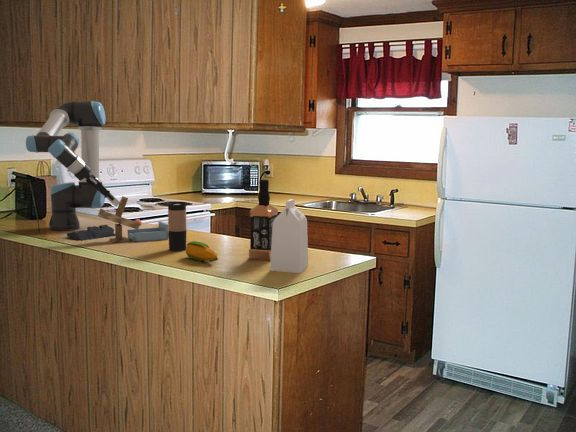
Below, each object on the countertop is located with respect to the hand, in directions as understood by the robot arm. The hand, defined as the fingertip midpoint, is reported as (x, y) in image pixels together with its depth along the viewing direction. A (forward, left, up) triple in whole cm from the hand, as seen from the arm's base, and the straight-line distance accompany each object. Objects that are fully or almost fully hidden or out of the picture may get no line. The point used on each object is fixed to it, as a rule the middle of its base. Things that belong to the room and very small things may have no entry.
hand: (118, 204), depth 285 cm
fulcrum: (+4, +1, -16) cm, 17 cm away
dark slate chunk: (-8, -16, -17) cm, 24 cm away
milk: (+53, +81, -17) cm, 98 cm away
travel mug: (+22, +32, -17) cm, 42 cm away
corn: (+42, +46, -17) cm, 64 cm away
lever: (+4, +1, -7) cm, 8 cm away
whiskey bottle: (+35, +70, -17) cm, 80 cm away
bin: (-3, +13, -16) cm, 21 cm away
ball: (-1, +9, -9) cm, 12 cm away
